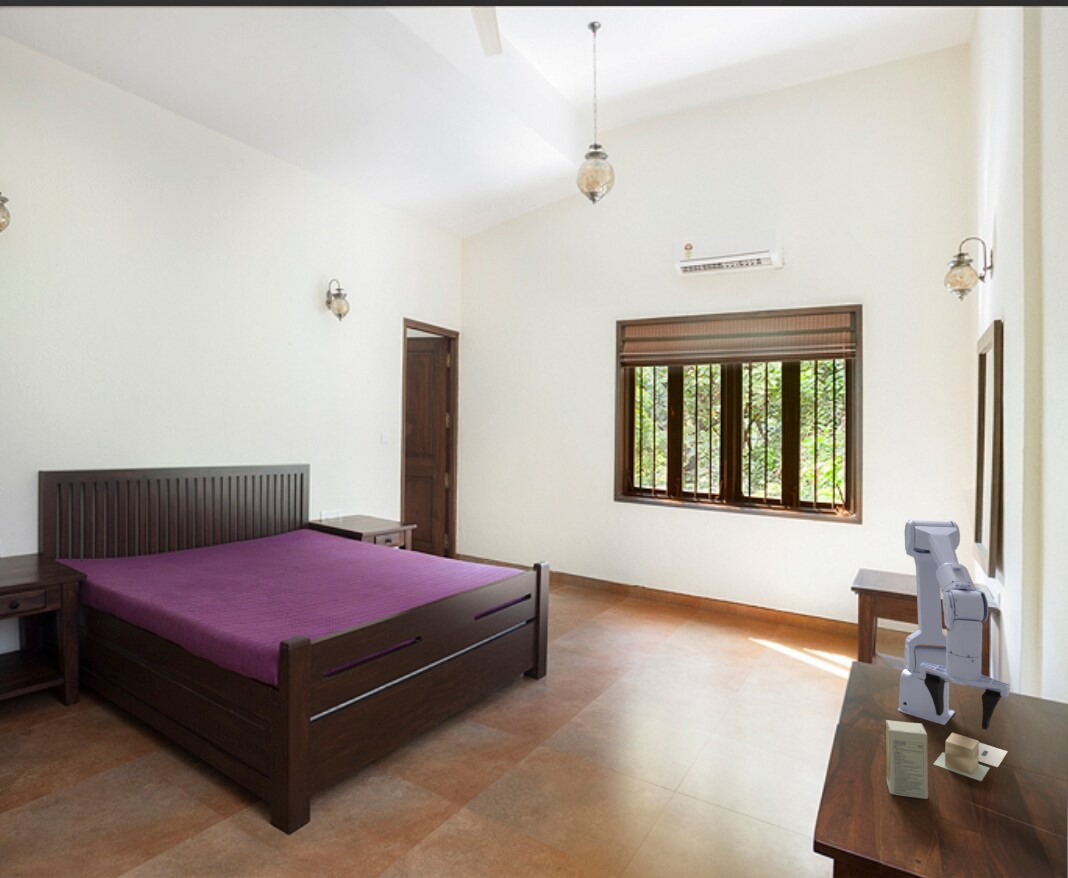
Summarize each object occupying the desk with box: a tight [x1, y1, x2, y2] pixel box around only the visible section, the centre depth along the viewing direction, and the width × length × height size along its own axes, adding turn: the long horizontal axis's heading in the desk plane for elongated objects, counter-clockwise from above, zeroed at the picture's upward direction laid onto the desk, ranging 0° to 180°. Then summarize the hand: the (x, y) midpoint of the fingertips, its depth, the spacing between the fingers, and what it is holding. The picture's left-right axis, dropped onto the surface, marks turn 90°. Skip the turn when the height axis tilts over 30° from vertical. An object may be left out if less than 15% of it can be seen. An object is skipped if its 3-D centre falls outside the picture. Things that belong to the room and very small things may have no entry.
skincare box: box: [885, 719, 929, 800], centre depth 121 cm, size 6×4×12 cm
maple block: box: [944, 732, 980, 775], centre depth 128 cm, size 4×4×5 cm
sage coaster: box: [933, 751, 991, 782], centre depth 128 cm, size 8×6×1 cm
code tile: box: [978, 742, 1008, 768], centre depth 133 cm, size 8×8×1 cm
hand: (962, 720), depth 128 cm, fingers open, 7 cm apart
